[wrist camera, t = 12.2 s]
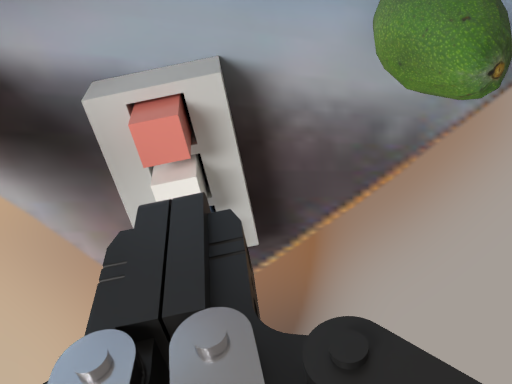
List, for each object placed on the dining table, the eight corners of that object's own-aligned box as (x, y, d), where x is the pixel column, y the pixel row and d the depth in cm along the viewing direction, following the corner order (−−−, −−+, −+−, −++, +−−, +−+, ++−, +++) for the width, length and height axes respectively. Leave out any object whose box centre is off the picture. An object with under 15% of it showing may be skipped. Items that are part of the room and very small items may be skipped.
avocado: (390, 86, 38) (458, 152, 28) (338, 12, 35) (395, 58, 25) (475, 20, 36) (582, 67, 26) (429, -67, 32) (532, -51, 22)
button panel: (218, 55, 36) (220, 72, 32) (254, 218, 44) (258, 244, 41) (92, 81, 36) (81, 100, 32) (152, 239, 44) (149, 267, 41)
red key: (180, 91, 34) (178, 114, 31) (191, 131, 36) (190, 158, 32) (135, 100, 34) (127, 124, 31) (149, 140, 36) (143, 168, 32)
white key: (196, 148, 37) (196, 176, 33) (206, 183, 39) (207, 213, 35) (155, 157, 37) (150, 186, 33) (166, 191, 39) (163, 222, 35)
